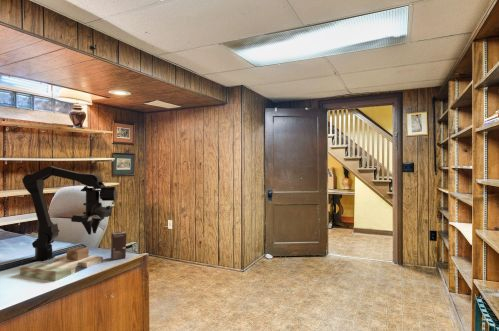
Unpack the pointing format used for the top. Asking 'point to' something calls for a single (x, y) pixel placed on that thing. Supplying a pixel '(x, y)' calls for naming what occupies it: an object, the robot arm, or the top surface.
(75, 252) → the block
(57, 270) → the trap board
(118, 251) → the box
